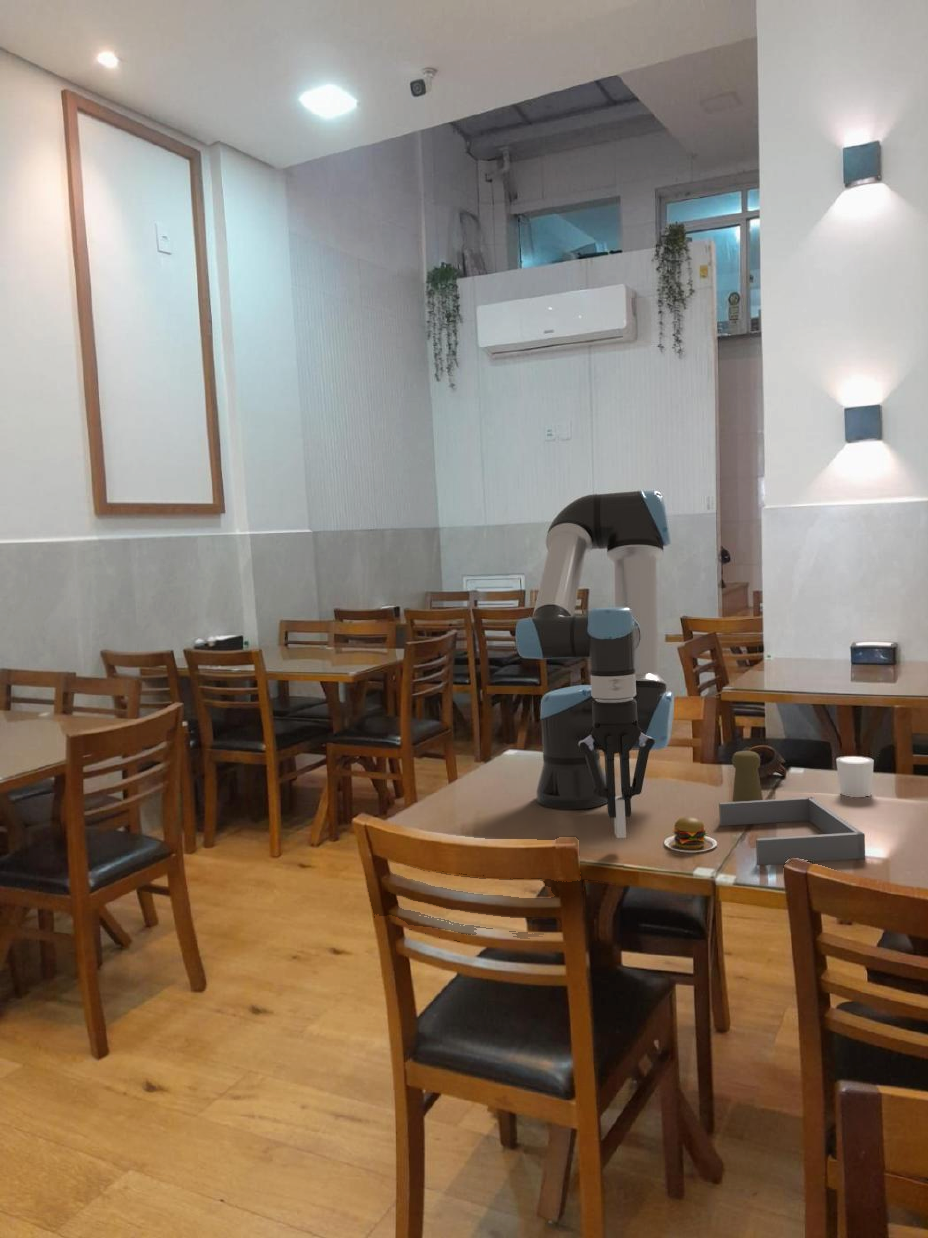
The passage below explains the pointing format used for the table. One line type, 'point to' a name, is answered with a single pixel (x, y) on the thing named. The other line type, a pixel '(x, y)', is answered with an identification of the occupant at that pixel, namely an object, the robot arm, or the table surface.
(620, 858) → the table surface
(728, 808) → the box
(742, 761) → the olive green pepper shaker
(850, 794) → the white cup
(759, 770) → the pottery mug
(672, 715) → the robot arm
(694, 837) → the hamburger
